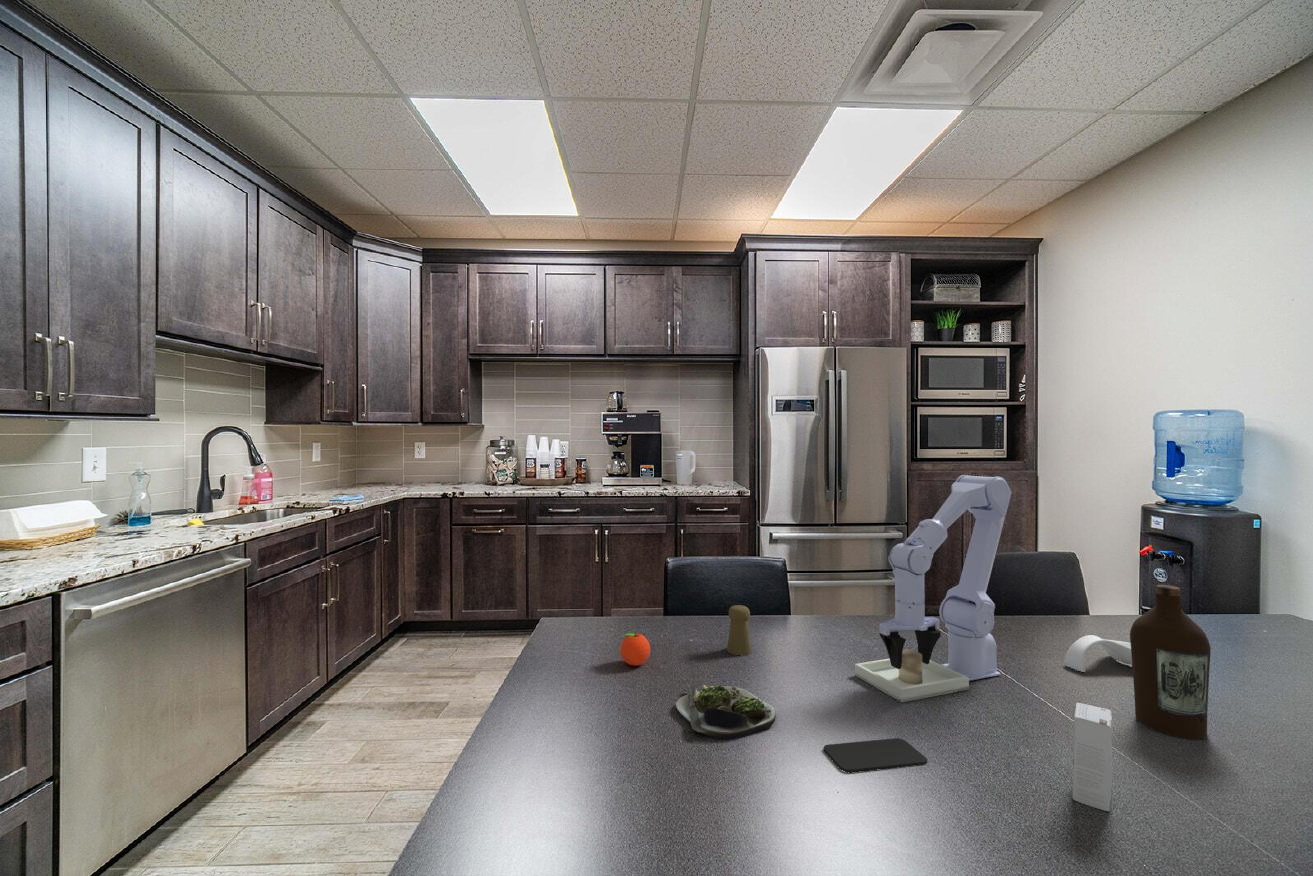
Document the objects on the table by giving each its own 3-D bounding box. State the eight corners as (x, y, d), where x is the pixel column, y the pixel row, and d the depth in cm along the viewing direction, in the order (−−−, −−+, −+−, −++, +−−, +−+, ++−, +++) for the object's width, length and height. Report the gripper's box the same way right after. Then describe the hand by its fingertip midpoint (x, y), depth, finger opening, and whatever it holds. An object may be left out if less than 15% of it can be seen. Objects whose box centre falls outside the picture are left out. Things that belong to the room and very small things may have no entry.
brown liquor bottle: (1119, 708, 105) (1117, 577, 106) (1188, 716, 102) (1186, 582, 102) (1150, 736, 95) (1148, 591, 95) (1227, 746, 92) (1225, 596, 92)
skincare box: (1074, 781, 82) (1073, 700, 82) (1113, 793, 79) (1112, 709, 79) (1071, 801, 77) (1070, 715, 78) (1113, 815, 74) (1111, 725, 75)
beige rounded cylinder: (910, 674, 119) (910, 648, 120) (927, 682, 115) (927, 656, 115) (893, 676, 118) (893, 651, 118) (909, 685, 114) (909, 659, 114)
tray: (917, 665, 126) (917, 654, 126) (969, 689, 113) (968, 677, 113) (854, 675, 120) (854, 664, 120) (901, 702, 107) (901, 689, 107)
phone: (931, 761, 86) (843, 770, 84) (931, 767, 86) (843, 776, 84) (901, 737, 94) (820, 745, 91) (901, 742, 94) (820, 750, 91)
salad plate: (653, 701, 108) (653, 678, 108) (729, 685, 116) (729, 663, 116) (703, 750, 91) (703, 722, 91) (788, 726, 99) (788, 700, 99)
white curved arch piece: (1128, 653, 134) (1127, 624, 134) (1184, 672, 123) (1183, 640, 123) (1050, 662, 129) (1049, 631, 129) (1100, 682, 117) (1100, 649, 117)
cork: (751, 656, 131) (751, 610, 131) (726, 654, 132) (726, 609, 132) (752, 647, 137) (752, 603, 137) (727, 646, 138) (727, 602, 138)
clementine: (610, 667, 125) (610, 635, 125) (623, 656, 131) (624, 626, 131) (642, 672, 122) (643, 640, 122) (654, 661, 128) (654, 630, 128)
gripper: (896, 609, 111) (897, 676, 110) (951, 602, 116) (951, 667, 115) (872, 600, 117) (872, 663, 117) (924, 594, 122) (925, 655, 122)
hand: (910, 664), depth 117 cm, fingers open, 7 cm apart
